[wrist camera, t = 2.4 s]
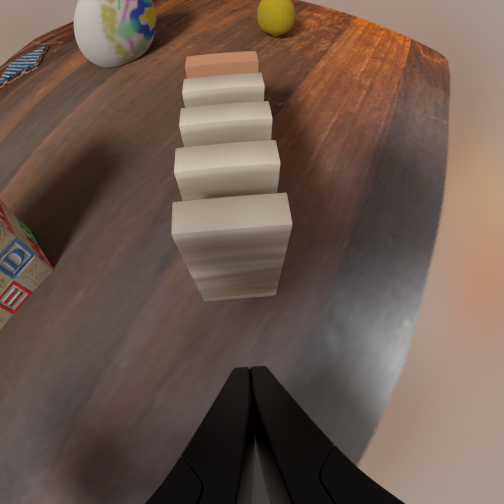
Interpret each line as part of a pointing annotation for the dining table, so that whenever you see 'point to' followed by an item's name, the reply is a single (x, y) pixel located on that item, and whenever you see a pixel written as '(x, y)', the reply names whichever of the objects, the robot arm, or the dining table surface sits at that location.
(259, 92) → the domino
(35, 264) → the stack of blocks
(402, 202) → the dining table surface
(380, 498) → the robot arm
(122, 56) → the decorative egg
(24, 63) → the woven mat
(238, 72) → the domino
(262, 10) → the lemon
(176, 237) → the domino
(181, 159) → the domino
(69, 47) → the dining table surface
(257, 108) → the domino
